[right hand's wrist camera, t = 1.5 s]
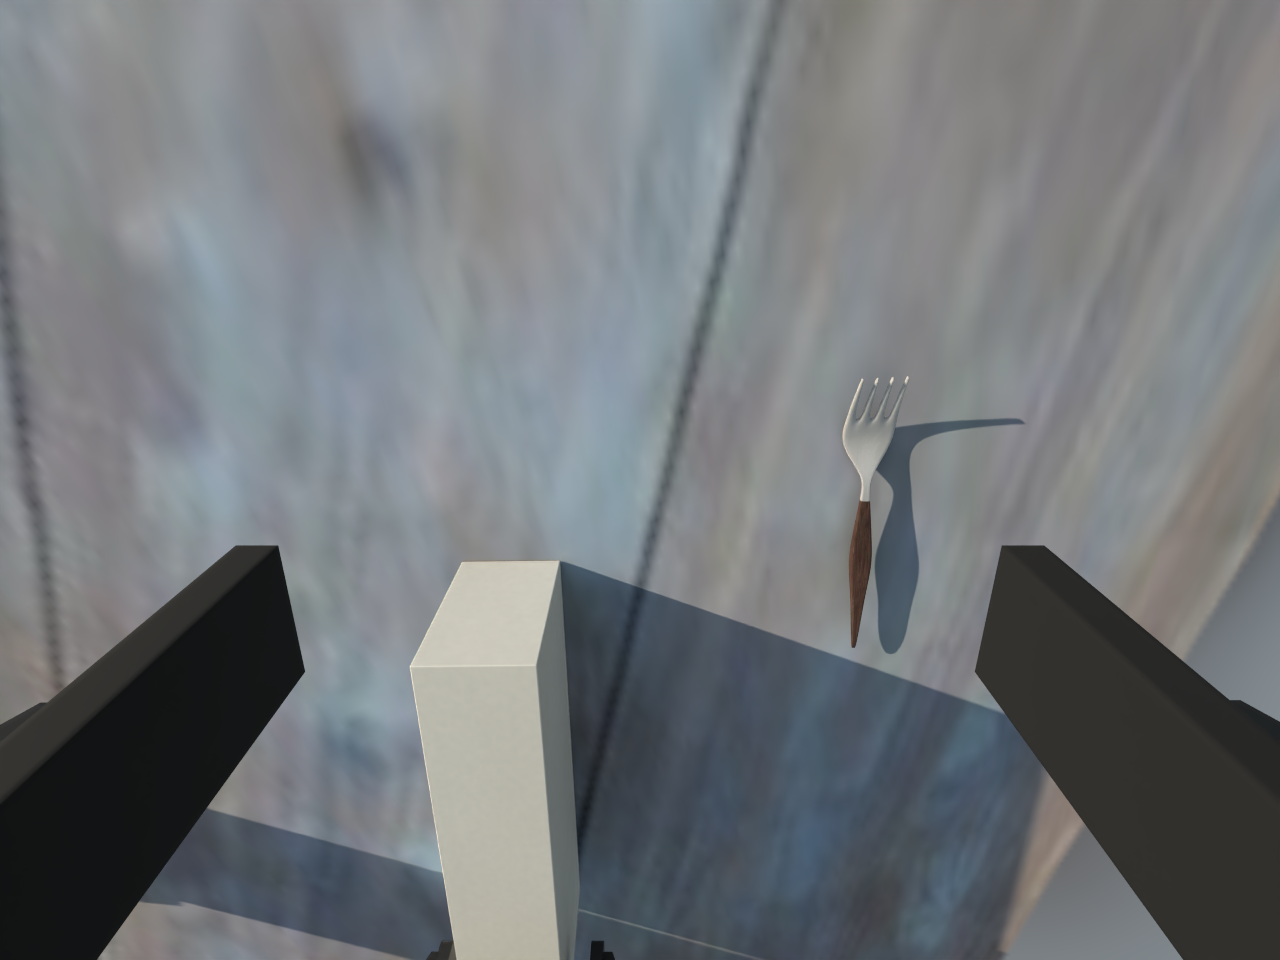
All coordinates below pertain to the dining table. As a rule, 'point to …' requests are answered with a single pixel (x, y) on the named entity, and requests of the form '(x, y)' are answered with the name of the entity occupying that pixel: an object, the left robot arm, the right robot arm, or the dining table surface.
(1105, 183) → the dining table surface
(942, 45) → the dining table surface
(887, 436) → the fork
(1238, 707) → the right robot arm
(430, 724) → the bar
